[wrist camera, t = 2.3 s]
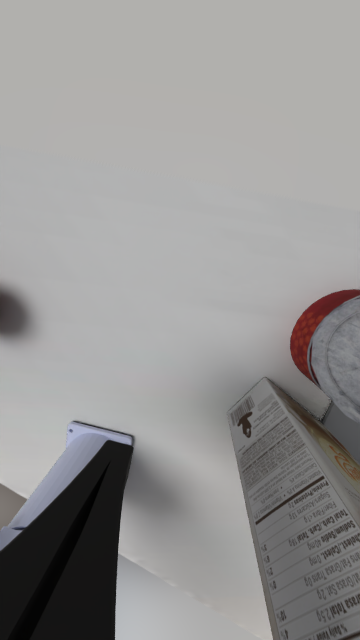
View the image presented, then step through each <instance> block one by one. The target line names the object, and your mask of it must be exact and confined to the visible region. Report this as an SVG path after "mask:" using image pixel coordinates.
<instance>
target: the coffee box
mask: <svg viewBox="0 0 360 640" xmlns="http://www.w3.org/2000/svg"><path fill="white" fill-rule="evenodd" d="M227 415H228V420H229V425H230V430H231V435H232V440H233V445H234V450H235V455H236V459H237V464H238V469H239V474H240V479H241V484H242V488H243V493H244V499H245V503H246V509H247V514H248V518H249V523H250V528H251V533H252V538H253V543H254V547H255V552H256V557H257V562H258V567H259V572H260V576H261V581H262V586H263V591H264V596H265V601H266V606H267V611H268V616H269V621H270V626H271V631H272V636H273V640H360V464H359V463H358V462H357V461H356V460H355V459H354V457H353V456H352V455H351V454H350V453H349V452H348V451H347V449H346V448H345V447H344V446H343V445H342V444H341V443H340V441H339V440H338V439H337V438H336V437H335V436H334V435H333V434H332V433H331V432H330V431H329V429H328V428H327V427H326V426H324V425H323V424H322V423H321V422H320V421H318V420H317V419H316V418H315V417H313V416H312V415H311V414H310V413H309V412H307V411H306V410H305V409H304V408H302V407H301V406H300V405H299V404H298V403H296V402H295V401H294V400H293V399H291V398H290V397H289V396H288V395H287V394H285V393H284V392H283V391H282V390H281V389H279V388H278V387H277V386H276V385H275V384H273V383H272V382H271V381H270V380H268V379H267V378H263V379H262V380H261V381H260V382H259V383H258V384H257V385H256V386H255V387H253V388H252V389H251V390H250V391H249V392H248V393H247V394H246V395H245V396H244V397H243V398H242V399H241V400H240V401H239V402H238V403H237V404H236V405H235V406H234V407H232V408H231V409H230V410H229V411H228V412H227Z"/></svg>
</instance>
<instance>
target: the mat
mask: <svg viewBox="0 0 360 640" xmlns="http://www.w3.org/2000/svg"><path fill="white" fill-rule="evenodd" d="M321 423H322V424H323V425H324V426H326V427H327V428H328V429H329V431H330V432H331V433H332V434H333V435H334V436H335V437H336V438H337V439H338V440H339V441H340V443H341V444H342V445H343V446H344V447H345V448H346V449H347V451H348V452H349V453H350V454H351V455H352V456H353V457H354V459H355V460H356V461H357V462H358V463H359V464H360V424H359V423H357V422H355V421H354V420H352V419H351V418H349V417H347V416H346V415H345V414H344V413H343V412H342V411H341V410H340V409H339V408H338V407H337V406H336V404H335V403H334V402H333V401H332V402H331V404H330V406H329V408H328V410H327V412H326V414H325V416H324V418H323V420H322V422H321Z"/></svg>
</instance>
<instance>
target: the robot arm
mask: <svg viewBox="0 0 360 640" xmlns="http://www.w3.org/2000/svg"><path fill="white" fill-rule="evenodd" d="M127 443H128V444H127ZM131 444H132V437H130V436H128V435H124V434H120V433H116V432H112V431H108V430H104V429H100V428H96V427H92V426H88V425H84V424H80V423H76V422H70V423H69V425H68V429H67V441H66V450H65V451H64V452H63V454H62V455H61V456H60V458H59V459H58V460H57V462H56V463H55V464H54V466H53V467H52V468H51V469H50V471H49V472H48V473H47V475H46V476H45V477H44V479H43V480H42V481H41V483H40V484H39V485H38V487H37V488H36V489H35V491H34V492H33V493H32V495H31V496H30V497H29V499H28V500H27V501H26V503H25V504H24V505H23V507H22V508H21V509H20V511H19V512H18V513H17V514H16V516H15V517H14V518H13V520H12V521H11V522H10V524H9V525H8V526H7V527H6V526H4V527H3V528H2V529H1V530H0V640H115V605H116V579H117V560H118V544H119V531H120V519H121V510H122V501H123V493H124V488H125V484H126V481H127V477H128V474H129V469H130V464H131V458H132V453H133V447H132V445H131Z"/></svg>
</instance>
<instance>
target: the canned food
mask: <svg viewBox="0 0 360 640" xmlns="http://www.w3.org/2000/svg"><path fill="white" fill-rule="evenodd" d="M290 350H291V355H292V358H293V361H294V363H295V365H296V366H297V368H298V369H299V370H300V371H301V372H302V373H303V374H304V375H305V376H306V377H308V378H309V379H310V380H311V381H312V382H313V383H315V384H316V385H317V386H318V387H319V388H320V389H321V390H322V391H323V392H325V394H326V395H327V396H328V397H329V398H330V399H331V400H332V401H333V402H334V403H335V404H336V406H337V407H338V408H339V409H340V410H341V411H342V412H343V413H344V414H345V415H346V416H347V417H349V418H351V419H352V420H354V421H355V422H357V423H359V424H360V290H355V289H353V290H342V291H339V292H335V293H331V294H329V295H327V296H325V297H323V298H321V299H319V300H318V301H316V302H315V303H313V304H312V305H311V306H310V307H309V308H307V309H306V310H305V311H304V312H303V314H302V315H301V316H300V318H299V319H298V320H297V322H296V324H295V327H294V329H293V331H292V335H291V340H290Z"/></svg>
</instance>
